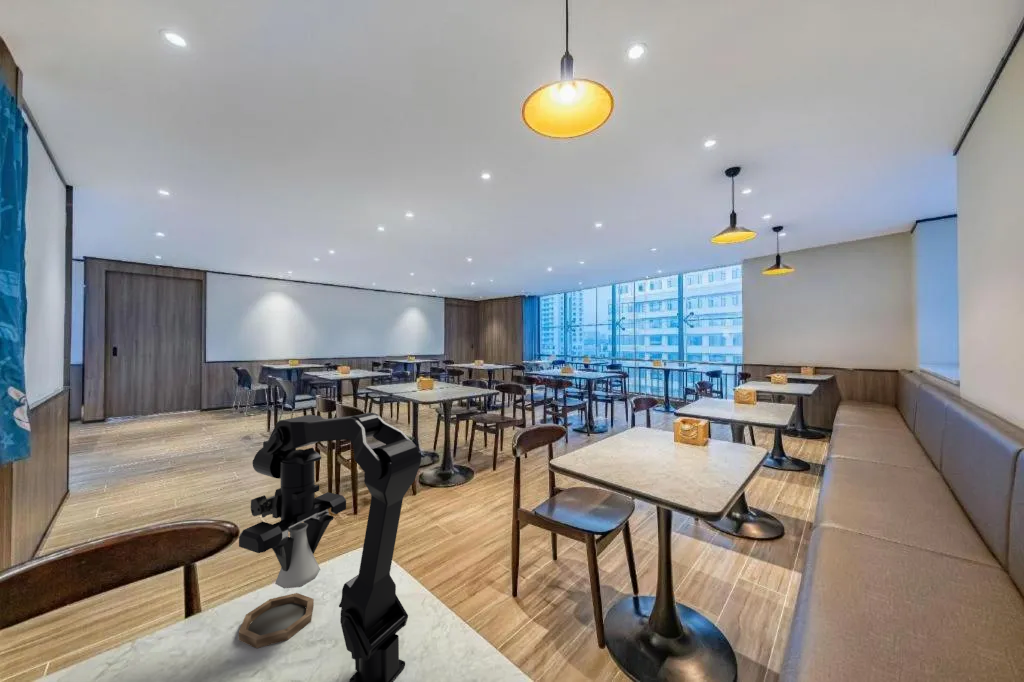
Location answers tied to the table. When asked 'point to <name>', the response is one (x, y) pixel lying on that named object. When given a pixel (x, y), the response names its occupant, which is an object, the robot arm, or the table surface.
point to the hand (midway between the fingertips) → (298, 563)
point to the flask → (299, 561)
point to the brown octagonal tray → (276, 620)
